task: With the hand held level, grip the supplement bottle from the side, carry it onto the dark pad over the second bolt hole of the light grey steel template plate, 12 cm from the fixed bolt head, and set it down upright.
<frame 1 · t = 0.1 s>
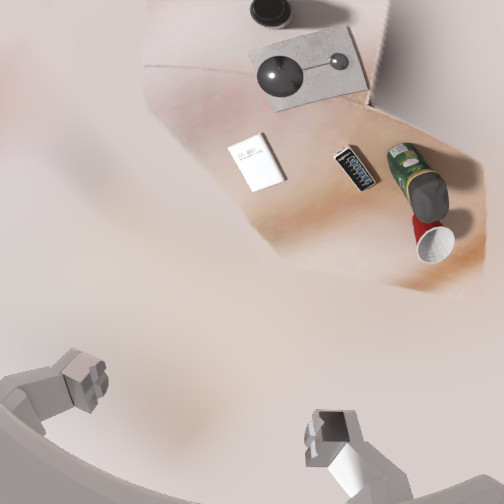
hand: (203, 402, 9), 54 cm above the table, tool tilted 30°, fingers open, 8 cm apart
external hard drive: (257, 161, 60), on the table
multiport hub: (353, 166, 56), on the table
plastic cup: (421, 216, 61), on the table
template plate: (309, 67, 43), on the table
supplement bottle: (274, 15, 36), on the table
coffee jar: (403, 160, 52), on the table
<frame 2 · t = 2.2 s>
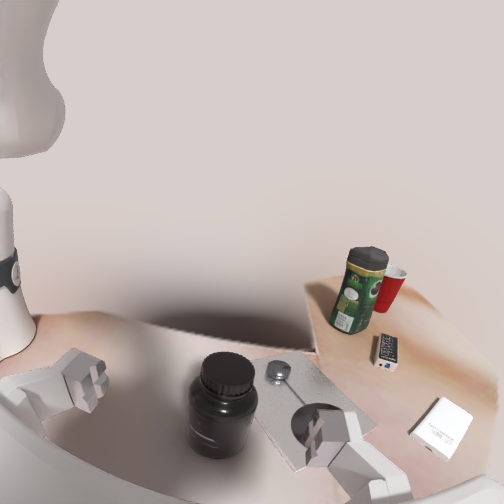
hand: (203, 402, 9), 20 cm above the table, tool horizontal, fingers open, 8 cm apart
external hard drive: (440, 431, 27), on the table
multiport hub: (384, 357, 47), on the table
plastic cup: (376, 308, 69), on the table
template plate: (297, 402, 34), on the table
supplement bottle: (215, 438, 26), on the table
coffee jar: (347, 326, 58), on the table
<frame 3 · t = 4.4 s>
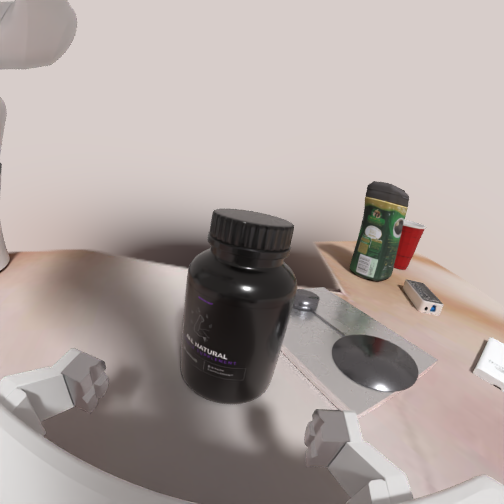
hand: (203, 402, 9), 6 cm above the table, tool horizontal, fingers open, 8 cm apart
external hard drive: (499, 372, 20), on the table
multiport hub: (418, 303, 41), on the table
plastic cup: (395, 266, 63), on the table
template plate: (333, 336, 27), on the table
supplement bottle: (226, 377, 19), on the table
coffee jar: (369, 275, 52), on the table
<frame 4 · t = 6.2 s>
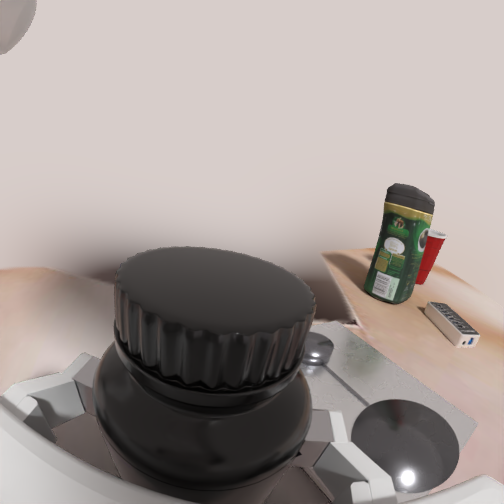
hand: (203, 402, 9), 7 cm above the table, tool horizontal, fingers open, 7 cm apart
multiport hub: (447, 332, 31), on the table
plastic cup: (411, 280, 54), on the table
template plate: (352, 402, 17), on the table
supplement bottle: (195, 487, 10), on the table, touching gripper
coffee jar: (386, 295, 42), on the table
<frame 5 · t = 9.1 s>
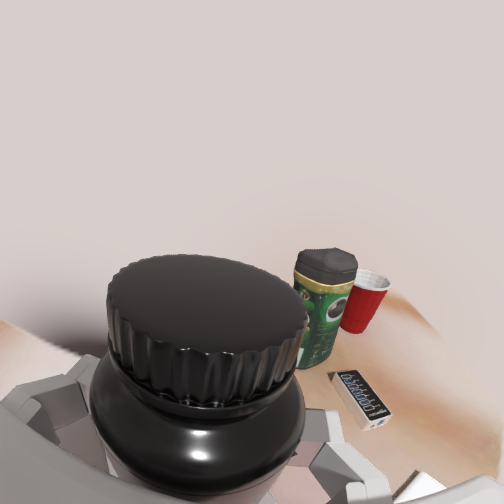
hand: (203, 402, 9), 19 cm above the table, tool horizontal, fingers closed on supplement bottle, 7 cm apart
multiport hub: (356, 404, 33), on the table
plastic cup: (350, 327, 55), on the table
supplement bottle: (192, 487, 10), point 12 cm above the table, touching gripper
coffee jar: (300, 355, 43), on the table
when the fingers open (9 cm above the table, at t = 11.6 s): supplement bottle drops 1 cm, resting on template plate.
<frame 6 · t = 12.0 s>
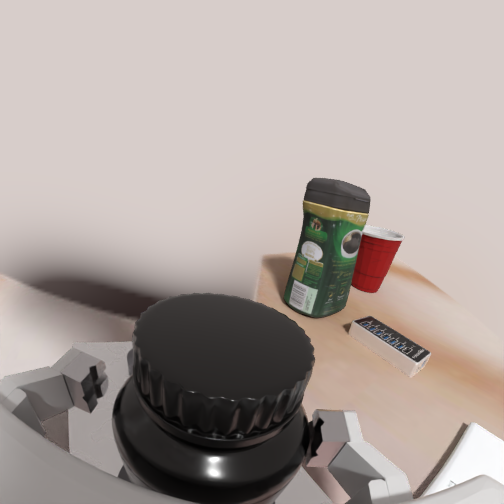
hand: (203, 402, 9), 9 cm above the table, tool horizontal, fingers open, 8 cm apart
external hard drive: (468, 488, 9), on the table
multiport hub: (384, 353, 30), on the table
plastic cup: (363, 288, 51), on the table
template plate: (165, 428, 15), on the table
supplement bottle: (201, 497, 10), point 1 cm above the table, touching template plate
coffee jar: (313, 306, 40), on the table
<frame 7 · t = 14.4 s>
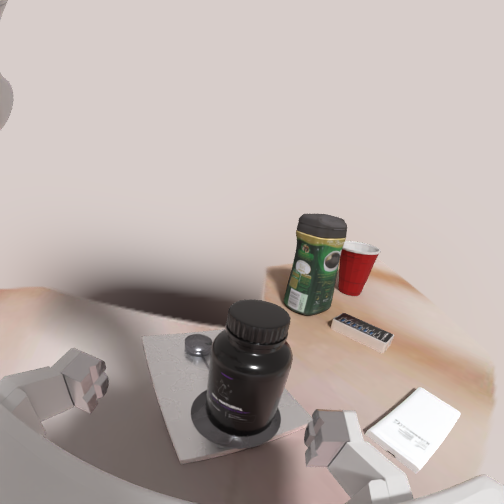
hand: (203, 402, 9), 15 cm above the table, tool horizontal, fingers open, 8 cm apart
external hard drive: (414, 431, 22), on the table
multiport hub: (359, 339, 43), on the table
plastic cup: (348, 292, 65), on the table
template plate: (213, 382, 29), on the table
supplement bottle: (239, 415, 24), point 1 cm above the table, touching template plate
coffee jar: (306, 307, 53), on the table
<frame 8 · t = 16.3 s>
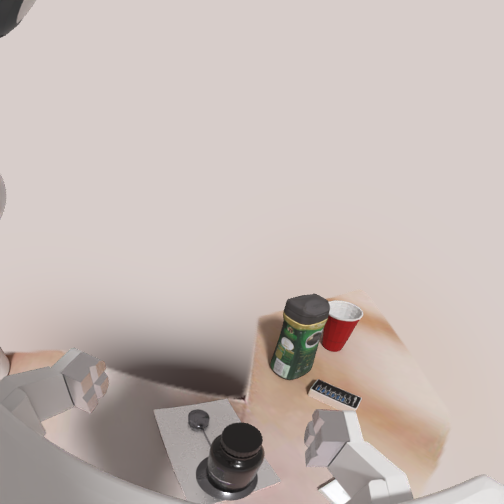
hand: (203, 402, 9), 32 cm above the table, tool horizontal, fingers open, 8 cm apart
external hard drive: (358, 488, 28), on the table
multiport hub: (332, 401, 49), on the table
plastic cup: (331, 346, 70), on the table
template plate: (211, 449, 34), on the table
supplement bottle: (229, 476, 29), point 1 cm above the table, touching template plate
coffee jar: (289, 369, 59), on the table
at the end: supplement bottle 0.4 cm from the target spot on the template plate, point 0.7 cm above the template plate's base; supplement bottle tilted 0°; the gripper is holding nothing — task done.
